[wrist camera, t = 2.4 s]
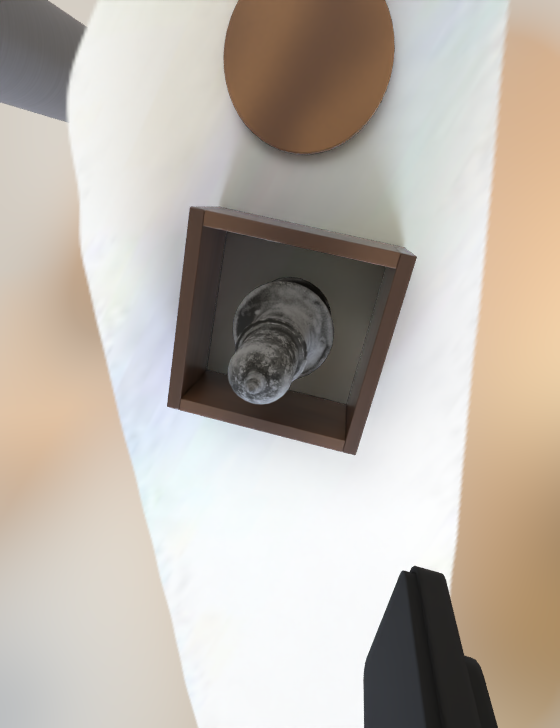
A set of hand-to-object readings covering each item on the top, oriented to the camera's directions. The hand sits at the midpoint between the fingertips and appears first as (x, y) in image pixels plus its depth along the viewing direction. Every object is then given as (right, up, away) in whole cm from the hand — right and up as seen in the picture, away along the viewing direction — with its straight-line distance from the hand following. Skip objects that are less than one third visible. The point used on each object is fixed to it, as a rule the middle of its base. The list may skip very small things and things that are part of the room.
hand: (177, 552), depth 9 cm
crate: (+3, +7, +19) cm, 20 cm away
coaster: (+4, +20, +14) cm, 25 cm away
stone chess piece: (+3, +7, +19) cm, 21 cm away
